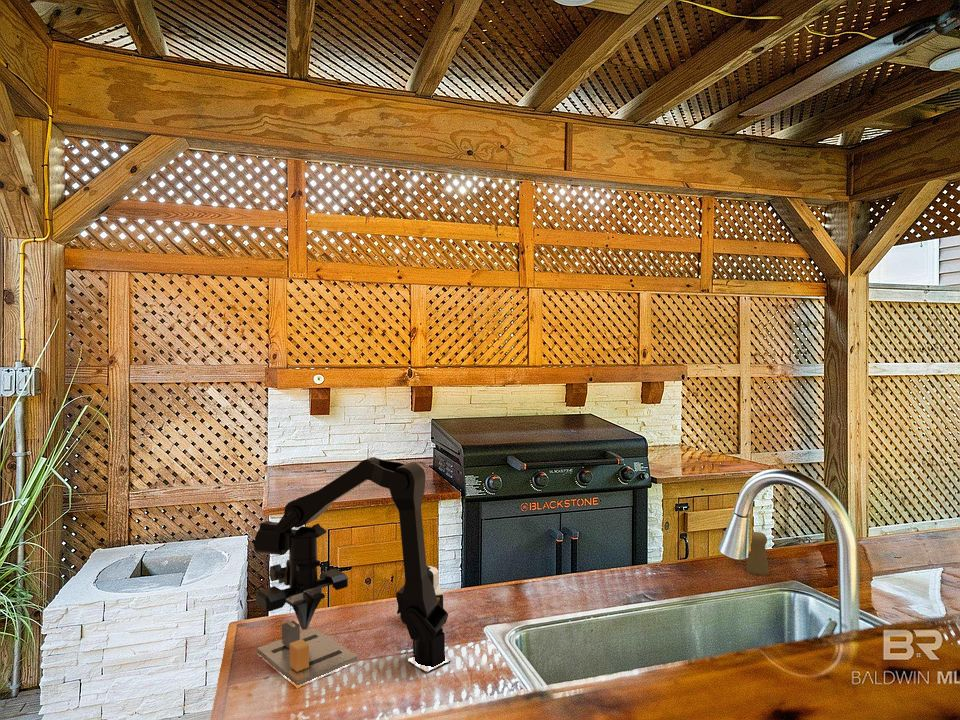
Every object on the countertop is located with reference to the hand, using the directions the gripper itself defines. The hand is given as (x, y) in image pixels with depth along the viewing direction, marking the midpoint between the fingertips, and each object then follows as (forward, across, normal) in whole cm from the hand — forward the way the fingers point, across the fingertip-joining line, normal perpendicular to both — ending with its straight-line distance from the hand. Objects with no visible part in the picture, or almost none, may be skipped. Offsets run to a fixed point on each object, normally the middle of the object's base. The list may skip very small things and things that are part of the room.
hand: (304, 628), depth 123 cm
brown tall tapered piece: (+4, -113, +52) cm, 124 cm away
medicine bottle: (+4, -27, +8) cm, 28 cm away
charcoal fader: (+2, +3, 0) cm, 4 cm away
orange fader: (+2, +6, +10) cm, 12 cm away
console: (+4, +2, +5) cm, 7 cm away
